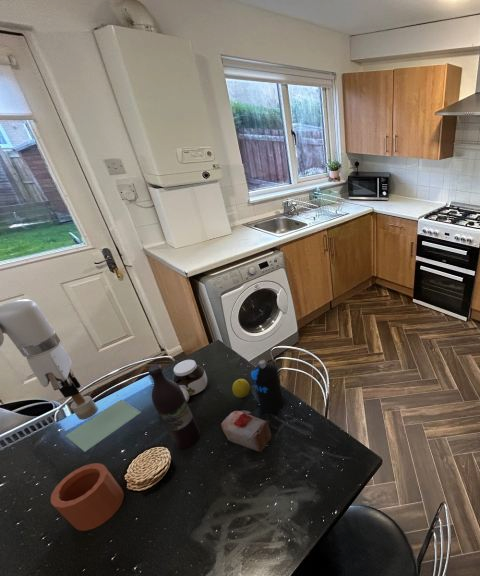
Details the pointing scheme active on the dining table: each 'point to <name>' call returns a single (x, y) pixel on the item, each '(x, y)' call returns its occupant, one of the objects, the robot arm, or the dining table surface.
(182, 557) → the dining table surface
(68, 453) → the dining table surface
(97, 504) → the terracotta pot
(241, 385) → the lemon
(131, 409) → the mat
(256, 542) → the dining table surface
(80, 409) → the brush
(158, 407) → the wine bottle
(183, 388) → the spread jar
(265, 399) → the aerosol can
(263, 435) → the food item
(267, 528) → the dining table surface
